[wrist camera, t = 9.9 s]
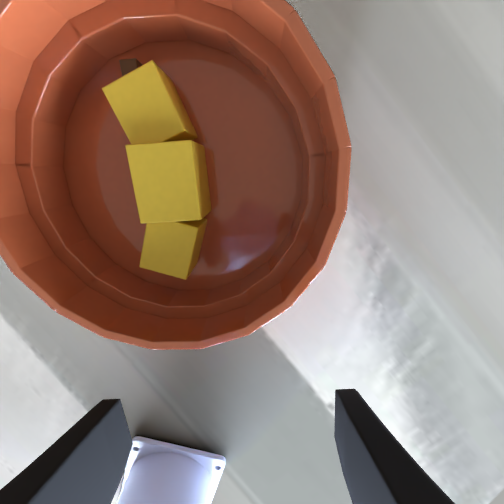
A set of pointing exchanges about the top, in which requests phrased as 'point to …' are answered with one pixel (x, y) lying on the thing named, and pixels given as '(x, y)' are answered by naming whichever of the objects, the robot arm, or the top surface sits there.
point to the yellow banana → (162, 167)
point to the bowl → (209, 135)
